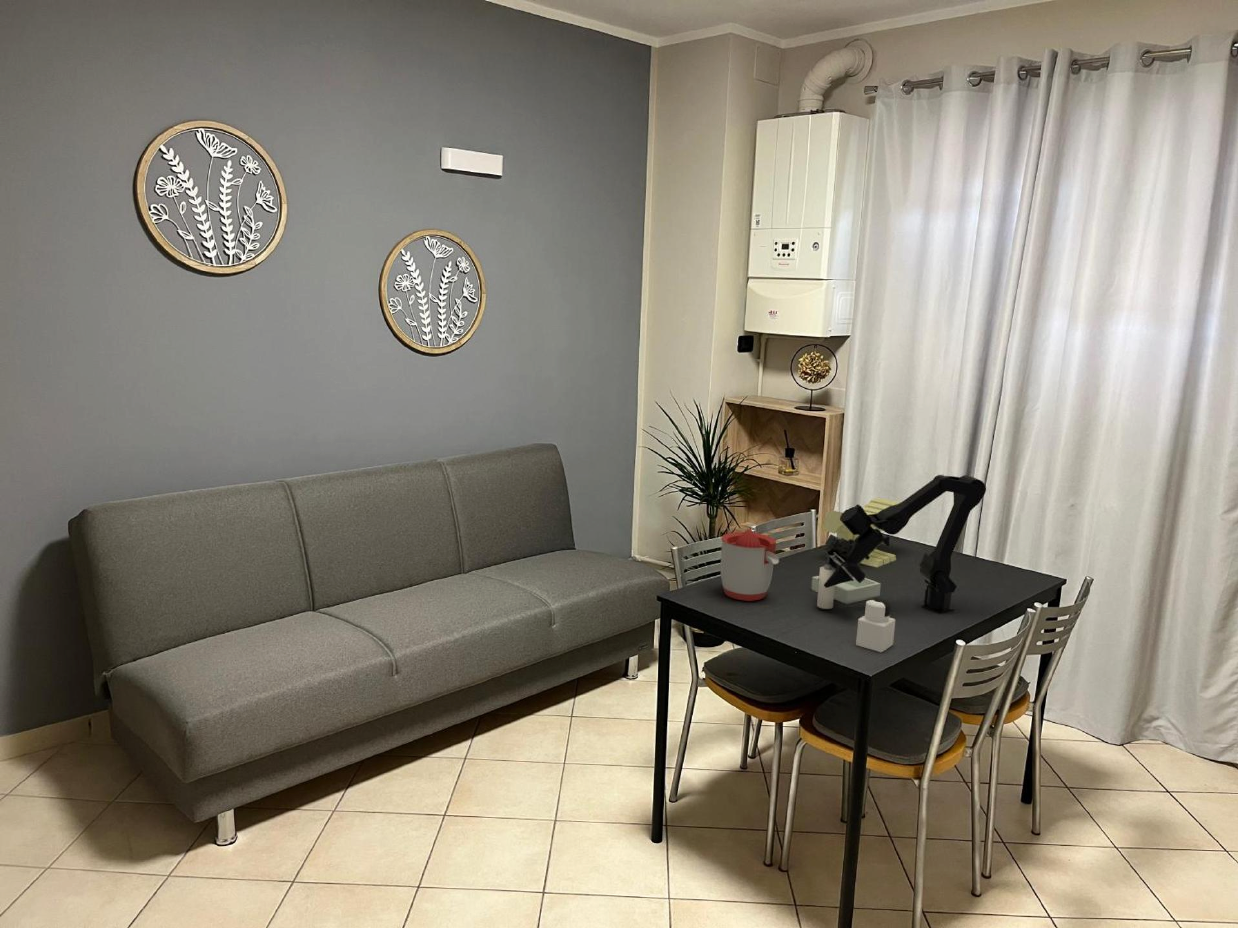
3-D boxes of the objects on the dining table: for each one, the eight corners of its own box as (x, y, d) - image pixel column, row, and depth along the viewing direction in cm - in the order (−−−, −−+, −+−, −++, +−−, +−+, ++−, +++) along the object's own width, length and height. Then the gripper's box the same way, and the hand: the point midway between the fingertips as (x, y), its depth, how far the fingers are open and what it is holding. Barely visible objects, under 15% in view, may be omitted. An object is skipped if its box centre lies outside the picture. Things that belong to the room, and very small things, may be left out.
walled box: (879, 596, 274) (880, 583, 273) (846, 604, 266) (847, 590, 265) (843, 582, 285) (845, 570, 284) (811, 589, 278) (812, 576, 277)
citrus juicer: (760, 609, 259) (765, 541, 255) (707, 595, 269) (711, 528, 265) (786, 596, 271) (791, 530, 267) (735, 582, 281) (739, 519, 277)
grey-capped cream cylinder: (836, 607, 260) (839, 566, 258) (825, 609, 258) (828, 568, 256) (824, 602, 264) (827, 561, 262) (813, 604, 262) (816, 564, 259)
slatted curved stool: (866, 544, 329) (871, 495, 325) (908, 555, 318) (913, 504, 314) (820, 560, 307) (825, 508, 304) (863, 572, 296) (868, 518, 293)
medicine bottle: (867, 637, 241) (871, 593, 239) (893, 645, 237) (897, 600, 235) (855, 645, 236) (859, 600, 234) (881, 653, 232) (886, 607, 229)
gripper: (833, 517, 266) (793, 554, 267) (857, 535, 248) (814, 574, 249) (857, 543, 269) (817, 580, 269) (883, 563, 250) (840, 602, 251)
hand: (821, 583), depth 260 cm, fingers closed on grey-capped cream cylinder, 4 cm apart
